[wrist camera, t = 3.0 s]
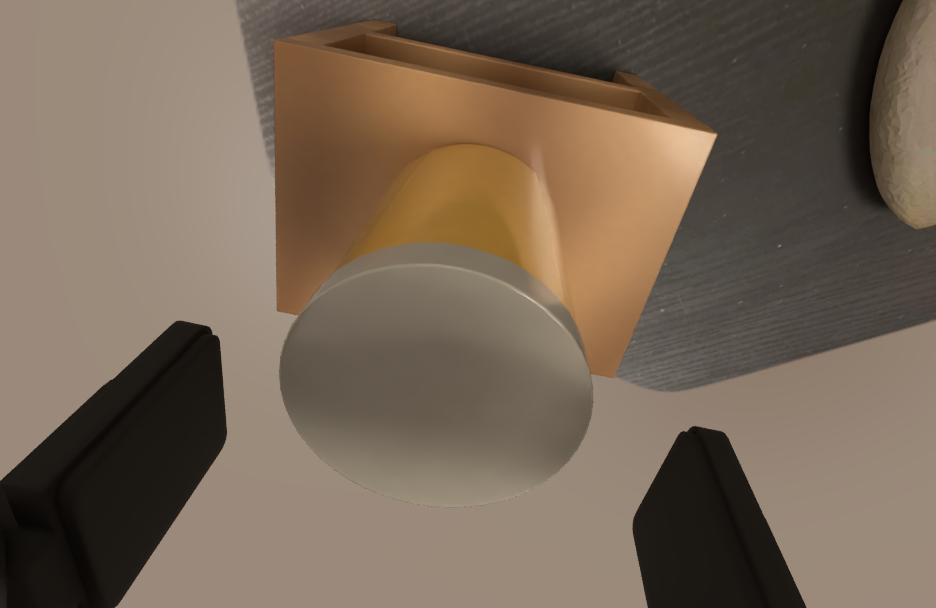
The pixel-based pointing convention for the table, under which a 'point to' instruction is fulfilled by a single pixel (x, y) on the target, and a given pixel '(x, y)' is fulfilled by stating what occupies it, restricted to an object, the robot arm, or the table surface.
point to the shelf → (490, 124)
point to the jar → (445, 339)
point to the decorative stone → (907, 115)
